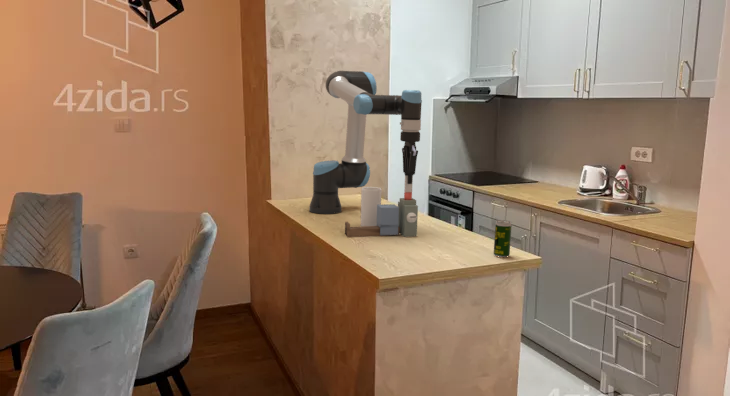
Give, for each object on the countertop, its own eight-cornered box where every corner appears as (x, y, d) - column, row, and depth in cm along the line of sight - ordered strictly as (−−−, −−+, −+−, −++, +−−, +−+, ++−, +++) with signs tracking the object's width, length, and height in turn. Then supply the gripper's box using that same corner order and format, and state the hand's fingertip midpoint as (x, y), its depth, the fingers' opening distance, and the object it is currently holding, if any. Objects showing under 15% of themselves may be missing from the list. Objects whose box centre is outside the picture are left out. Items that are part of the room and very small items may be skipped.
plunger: (403, 201, 220) (403, 191, 219) (410, 201, 221) (410, 191, 220) (405, 203, 217) (405, 193, 216) (412, 203, 218) (413, 192, 217)
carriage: (376, 231, 221) (377, 204, 219) (393, 230, 223) (394, 204, 221) (380, 235, 215) (381, 207, 213) (397, 234, 217) (398, 207, 215)
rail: (344, 234, 218) (344, 221, 217) (396, 232, 222) (396, 220, 222) (347, 237, 213) (347, 224, 212) (400, 235, 218) (400, 222, 217)
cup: (378, 229, 228) (379, 190, 225) (358, 227, 229) (359, 189, 226) (381, 224, 236) (383, 187, 233) (362, 223, 237) (363, 186, 234)
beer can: (497, 253, 195) (500, 219, 193) (512, 256, 192) (514, 221, 190) (490, 256, 191) (492, 221, 189) (505, 259, 188) (507, 224, 186)
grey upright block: (396, 230, 225) (397, 197, 223) (409, 230, 226) (410, 197, 224) (404, 237, 215) (406, 202, 212) (417, 236, 216) (419, 201, 214)
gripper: (396, 130, 219) (394, 189, 223) (406, 131, 207) (404, 194, 211) (414, 130, 221) (412, 189, 225) (425, 132, 209) (422, 194, 213)
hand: (408, 191), depth 218 cm, fingers closed
